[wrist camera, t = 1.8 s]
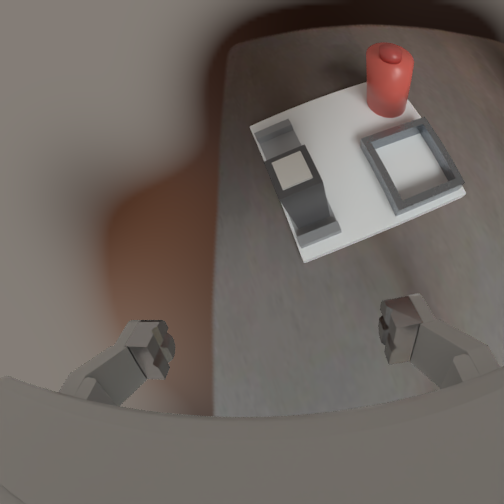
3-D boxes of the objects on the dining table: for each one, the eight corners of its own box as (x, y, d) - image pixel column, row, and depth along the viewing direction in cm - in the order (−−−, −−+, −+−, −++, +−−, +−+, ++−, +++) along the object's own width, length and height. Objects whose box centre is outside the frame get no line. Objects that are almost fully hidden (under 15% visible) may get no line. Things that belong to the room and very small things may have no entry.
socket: (421, 126, 27) (424, 116, 25) (458, 189, 25) (464, 182, 23) (360, 147, 29) (360, 138, 27) (395, 216, 27) (399, 210, 25)
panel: (388, 81, 30) (389, 69, 28) (462, 197, 26) (469, 189, 23) (252, 131, 35) (246, 121, 33) (304, 263, 30) (301, 259, 28)
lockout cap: (384, 82, 29) (387, 31, 21) (413, 106, 28) (424, 55, 19) (358, 99, 30) (355, 46, 21) (387, 124, 28) (393, 73, 20)
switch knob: (317, 186, 30) (304, 142, 21) (330, 216, 29) (322, 180, 20) (286, 199, 30) (262, 160, 22) (298, 228, 29) (278, 198, 21)
